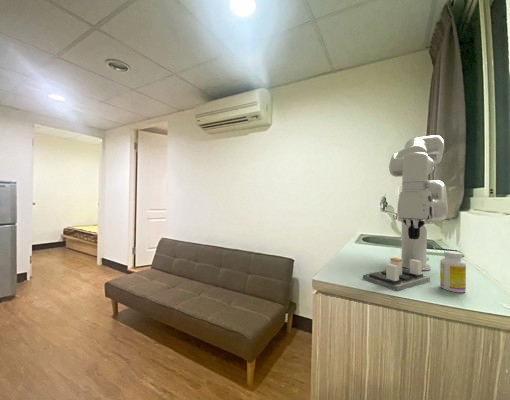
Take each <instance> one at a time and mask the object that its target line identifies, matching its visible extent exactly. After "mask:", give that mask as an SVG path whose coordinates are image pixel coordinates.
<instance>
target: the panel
mask: <svg viewBox="0 0 510 400" xmlns="http://www.w3.org/2000/svg"><path fill="white" fill-rule="evenodd" d="M362 280H365V281H368V282H370V283H374V284H377V285H379V286H383V287H385V288H388V289H391V290H393V291H396V292H399V291H402V290H406V289H410V288H412V287H415V286H419V285H422V284H423V285H424V284H425V283H430V281H431V277H430V276H426V275H424V274H423V273H422V274H420V275H416V274H412V273H410V269H409V270H408V269H407V268H406V269H405V268H402V275H399V280H398V281H393V280H389V279H386V269H385V270H379V271H375V272H371V273H370V272H369V273H367V274H362Z"/></svg>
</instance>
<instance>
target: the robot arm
mask: <svg viewBox="0 0 510 400" xmlns="http://www.w3.org/2000/svg"><path fill="white" fill-rule="evenodd" d="M444 151H445V141H444V139H443V138H442V136H440V135H437V134H436V135H427V136H418V137H413V138H411V139H408V140H407V142H406V143H405V145H404V148H403V149H401V150H399V151H396V152H395V153H393V154H392V155H391V157H390V160H389V165H388V171H389V173H390V175H391V176H392V177H395V178H397V177H398V178H399V177H402V178H401V179H402V180H401V181H402V183H401V184H402V185H401V191H400V192H399V196H398V201H397V212H396V213H397V221H398V222H401V256H400V257H401V258H400V259H403V261H402V268H403V269H405V268H406V269H407V270H408V269H409V270H410V260H412V259H414V260H419V261H422V271H430V270H431V269H432V268H431V267H432V266H431V265H429V264H427V262H429V261H430V258H429V257H428V256H427V249H428V245H427V244H428V243H427V242H428V240H427V239H428V237H427V235H428V231H427V228H426V225H428V224H432V223H433V221H443V220H445V219H447V217H448V215H449V206H448V193H447V186H446V184H445V183H444V182H443V181H442V180H439V179H437V180H435V179H433V180H431V179H429V175H430V174H431V173H432V172H433V171H434V168H435V167H434V166H435V165H437V164H439V163H441V161H442V160H443V159H442V158H443V155H444Z"/></svg>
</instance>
